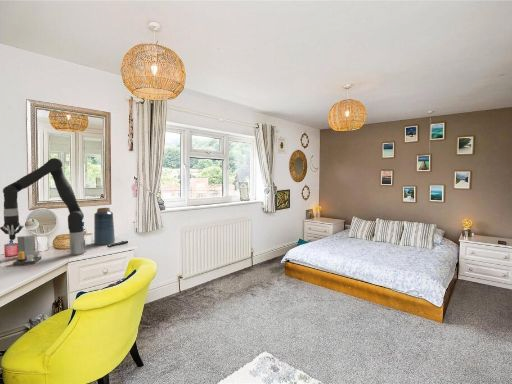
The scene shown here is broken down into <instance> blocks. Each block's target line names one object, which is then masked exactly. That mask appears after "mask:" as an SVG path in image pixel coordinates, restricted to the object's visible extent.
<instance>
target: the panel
mask: <svg viewBox="0 0 512 384" xmlns="http://www.w3.org/2000/svg"><path fill="white" fill-rule="evenodd" d="M25 258H27V259H25V260H17V259H16V260H17V261H16V260H15V261H12V266H20V265H21V266H22V265H34V264H36V263H38V262H39V261H41V260H42V255H41V254H40V250H35V252H34V255H33V254H30V255H27V257H25Z"/></svg>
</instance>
